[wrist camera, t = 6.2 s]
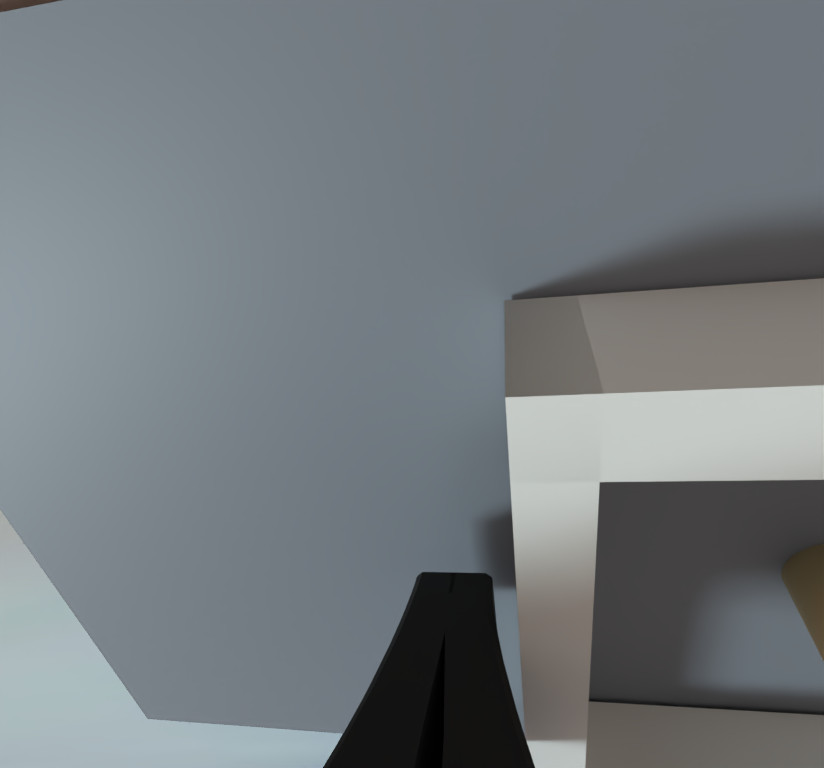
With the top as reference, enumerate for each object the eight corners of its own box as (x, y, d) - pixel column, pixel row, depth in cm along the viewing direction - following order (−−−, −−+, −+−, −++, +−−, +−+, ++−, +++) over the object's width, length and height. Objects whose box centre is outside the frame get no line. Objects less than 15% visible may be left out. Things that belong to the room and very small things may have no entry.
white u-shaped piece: (948, 753, 12) (1039, 901, 10) (527, 724, 14) (531, 848, 12) (1310, 244, 6) (1703, 351, 4) (504, 300, 8) (505, 397, 6)
